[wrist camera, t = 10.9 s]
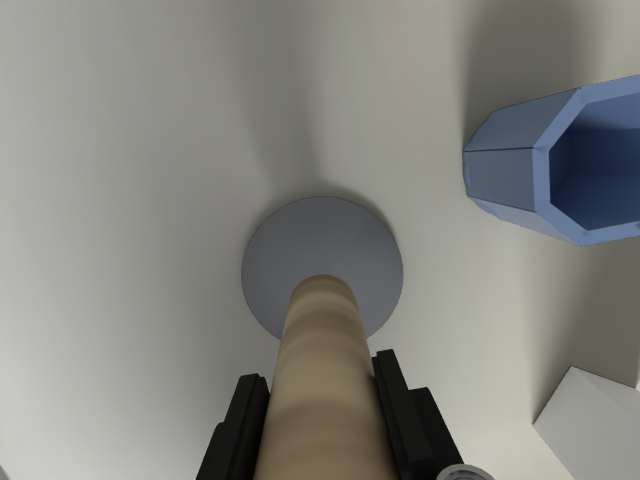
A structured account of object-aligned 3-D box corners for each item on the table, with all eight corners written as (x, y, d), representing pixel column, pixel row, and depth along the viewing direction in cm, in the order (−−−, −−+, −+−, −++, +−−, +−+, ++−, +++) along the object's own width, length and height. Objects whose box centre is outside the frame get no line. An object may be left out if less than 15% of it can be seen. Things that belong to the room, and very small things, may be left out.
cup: (575, 206, 22) (692, 227, 15) (468, 227, 22) (534, 257, 15) (574, 92, 20) (705, 57, 13) (457, 117, 20) (527, 95, 14)
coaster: (410, 330, 24) (413, 335, 23) (265, 356, 24) (263, 362, 24) (387, 182, 21) (390, 182, 20) (225, 215, 22) (222, 216, 21)
